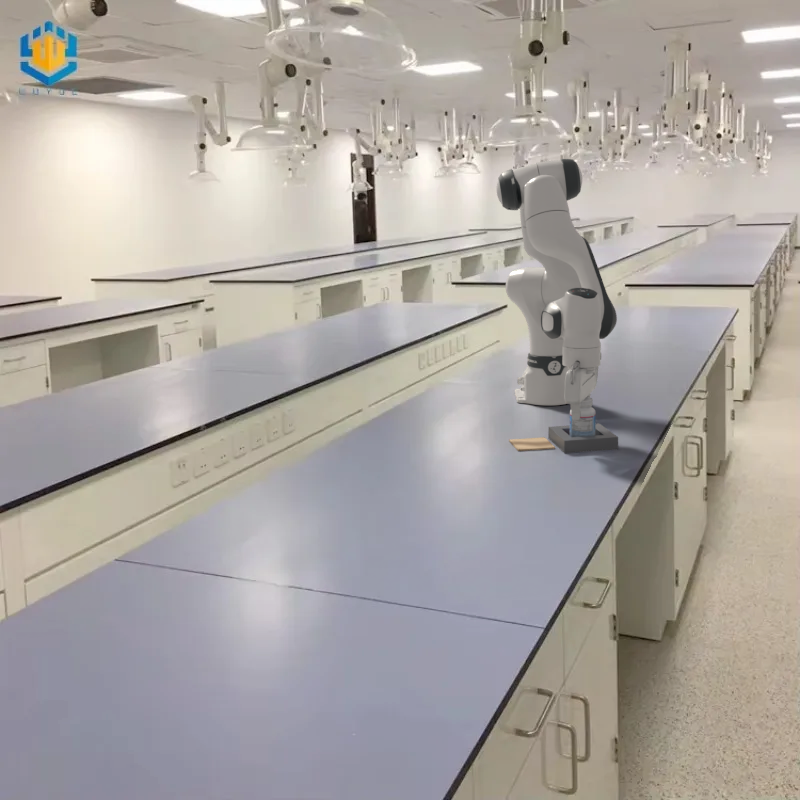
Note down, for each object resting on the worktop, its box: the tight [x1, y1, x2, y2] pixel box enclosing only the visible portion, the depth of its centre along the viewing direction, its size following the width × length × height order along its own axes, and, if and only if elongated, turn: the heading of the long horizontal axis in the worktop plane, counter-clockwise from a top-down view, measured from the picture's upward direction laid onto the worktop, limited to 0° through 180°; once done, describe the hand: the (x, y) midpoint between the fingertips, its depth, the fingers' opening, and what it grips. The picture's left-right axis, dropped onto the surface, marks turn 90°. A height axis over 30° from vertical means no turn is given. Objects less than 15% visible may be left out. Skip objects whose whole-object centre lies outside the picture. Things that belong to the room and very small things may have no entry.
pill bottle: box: [569, 396, 597, 437], centre depth 206 cm, size 6×6×11 cm
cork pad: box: [508, 436, 556, 452], centre depth 208 cm, size 9×9×1 cm
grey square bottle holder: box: [547, 423, 619, 454], centre depth 207 cm, size 13×13×3 cm
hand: (580, 414), depth 205 cm, fingers open, 8 cm apart
